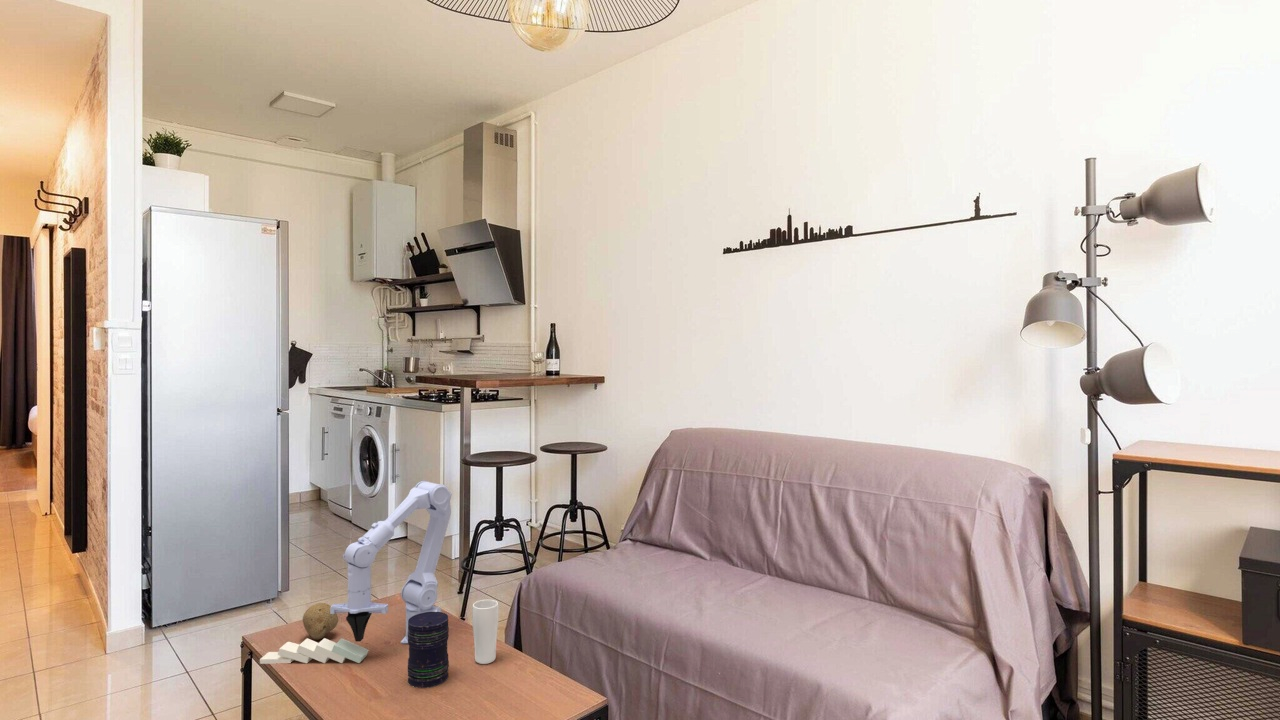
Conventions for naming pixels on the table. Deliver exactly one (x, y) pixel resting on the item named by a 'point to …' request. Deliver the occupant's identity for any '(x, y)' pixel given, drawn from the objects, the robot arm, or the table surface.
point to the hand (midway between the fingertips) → (359, 640)
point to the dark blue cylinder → (428, 649)
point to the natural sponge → (319, 620)
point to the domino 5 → (350, 650)
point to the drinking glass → (485, 630)
